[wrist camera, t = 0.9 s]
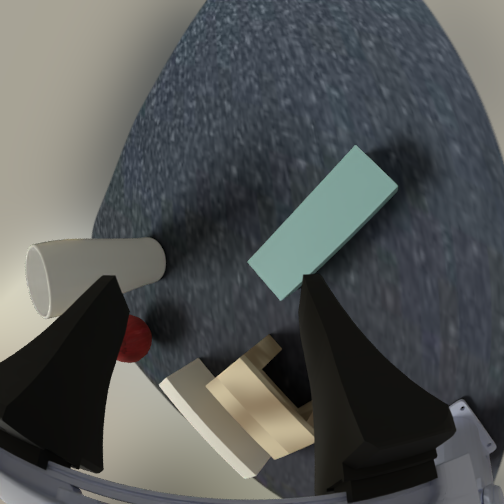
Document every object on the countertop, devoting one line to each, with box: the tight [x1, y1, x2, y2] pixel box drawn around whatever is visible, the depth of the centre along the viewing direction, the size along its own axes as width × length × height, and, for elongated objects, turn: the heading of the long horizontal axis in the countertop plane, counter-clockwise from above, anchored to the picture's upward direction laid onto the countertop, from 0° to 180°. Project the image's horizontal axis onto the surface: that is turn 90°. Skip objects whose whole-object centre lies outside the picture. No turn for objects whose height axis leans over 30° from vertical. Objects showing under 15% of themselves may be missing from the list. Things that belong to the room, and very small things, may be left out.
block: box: [206, 335, 314, 459], centre depth 25 cm, size 10×6×6 cm, turn 49°
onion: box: [117, 315, 152, 363], centre depth 32 cm, size 6×6×8 cm
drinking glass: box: [25, 237, 166, 319], centre depth 27 cm, size 7×7×15 cm
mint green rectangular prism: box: [248, 145, 398, 301], centre depth 22 cm, size 4×12×4 cm, turn 137°
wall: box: [159, 358, 271, 479], centre depth 29 cm, size 14×2×6 cm, turn 49°
